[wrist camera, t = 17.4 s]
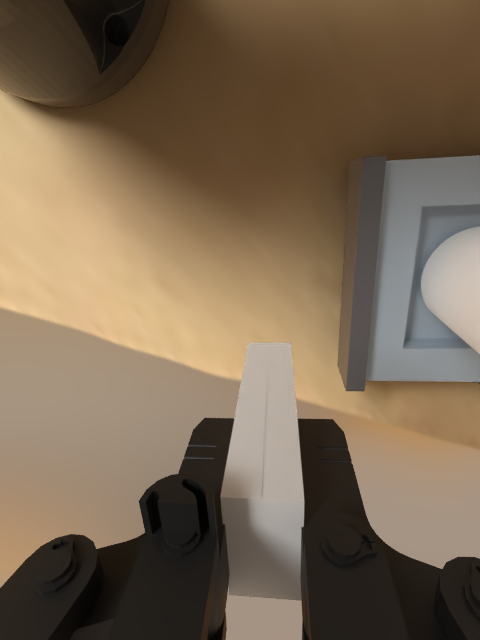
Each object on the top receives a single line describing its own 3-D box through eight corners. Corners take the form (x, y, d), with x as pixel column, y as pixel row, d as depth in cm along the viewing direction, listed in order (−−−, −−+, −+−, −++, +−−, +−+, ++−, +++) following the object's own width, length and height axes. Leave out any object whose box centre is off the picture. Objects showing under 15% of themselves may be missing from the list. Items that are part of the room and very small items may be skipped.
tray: (337, 364, 27) (345, 390, 24) (349, 160, 22) (362, 157, 18) (552, 365, 25) (594, 394, 22) (622, 144, 20) (691, 137, 17)
